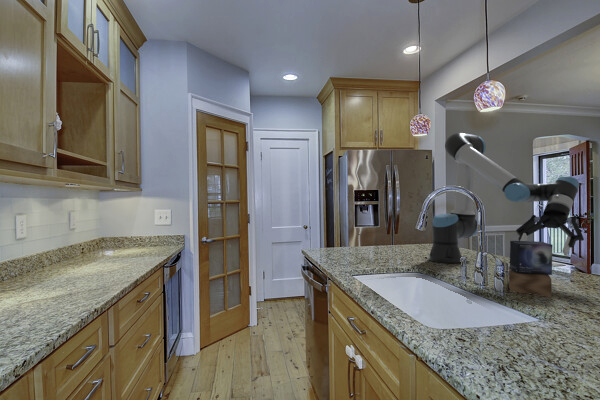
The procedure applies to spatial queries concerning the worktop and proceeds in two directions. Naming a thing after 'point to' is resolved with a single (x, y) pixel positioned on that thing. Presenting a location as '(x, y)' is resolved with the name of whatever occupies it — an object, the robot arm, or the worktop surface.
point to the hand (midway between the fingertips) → (541, 250)
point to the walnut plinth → (530, 283)
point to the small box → (531, 257)
